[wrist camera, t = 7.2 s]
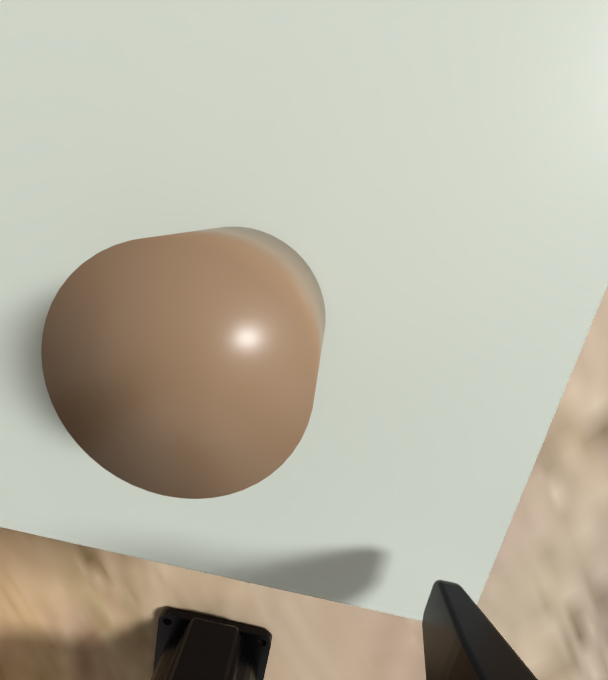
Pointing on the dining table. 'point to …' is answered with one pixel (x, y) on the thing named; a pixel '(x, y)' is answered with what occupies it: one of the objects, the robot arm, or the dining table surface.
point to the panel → (294, 278)
